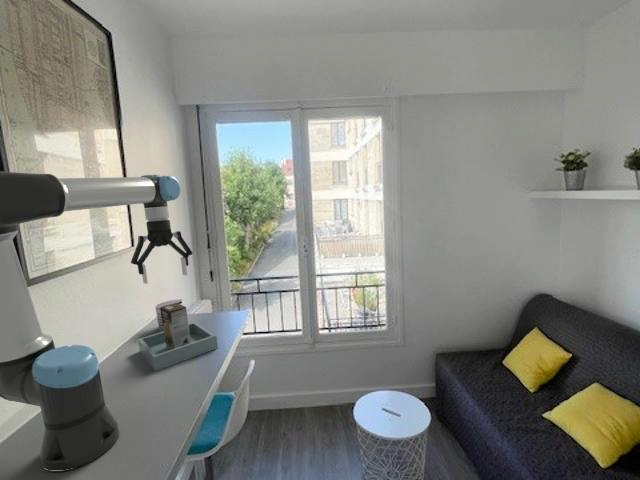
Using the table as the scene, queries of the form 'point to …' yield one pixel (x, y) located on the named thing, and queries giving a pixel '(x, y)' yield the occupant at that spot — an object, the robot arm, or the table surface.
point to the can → (160, 311)
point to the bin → (164, 357)
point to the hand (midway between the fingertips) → (166, 279)
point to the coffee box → (175, 325)
